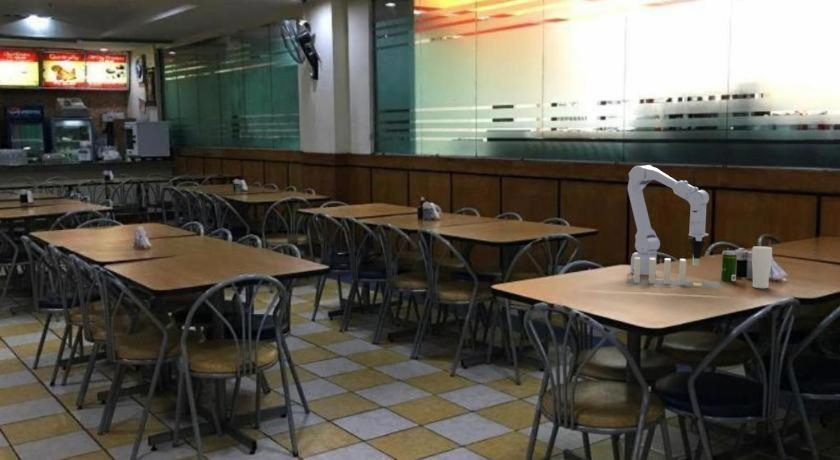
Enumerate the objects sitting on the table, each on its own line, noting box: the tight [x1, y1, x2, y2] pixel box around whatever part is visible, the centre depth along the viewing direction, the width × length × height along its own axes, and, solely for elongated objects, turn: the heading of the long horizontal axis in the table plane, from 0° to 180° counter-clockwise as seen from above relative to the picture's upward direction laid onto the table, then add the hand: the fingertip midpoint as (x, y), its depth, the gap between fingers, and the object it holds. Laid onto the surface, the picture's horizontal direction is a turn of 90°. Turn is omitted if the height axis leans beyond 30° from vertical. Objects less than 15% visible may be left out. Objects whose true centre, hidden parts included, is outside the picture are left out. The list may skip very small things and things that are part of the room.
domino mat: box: [626, 278, 723, 289], centre depth 307 cm, size 34×11×1 cm, turn 77°
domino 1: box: [633, 257, 641, 283], centre depth 309 cm, size 2×5×9 cm, turn 166°
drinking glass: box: [751, 245, 773, 289], centre depth 302 cm, size 7×7×15 cm
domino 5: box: [692, 255, 700, 267], centre depth 312 cm, size 2×5×9 cm, turn 167°
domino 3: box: [663, 257, 672, 284], centre depth 307 cm, size 2×5×9 cm, turn 167°
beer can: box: [720, 249, 738, 283], centre depth 312 cm, size 5×5×12 cm
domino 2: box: [648, 258, 657, 283], centre depth 308 cm, size 2×5×9 cm, turn 167°
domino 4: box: [678, 258, 687, 285], centre depth 306 cm, size 2×5×9 cm, turn 167°
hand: (696, 257), depth 313 cm, fingers closed on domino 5, 5 cm apart
